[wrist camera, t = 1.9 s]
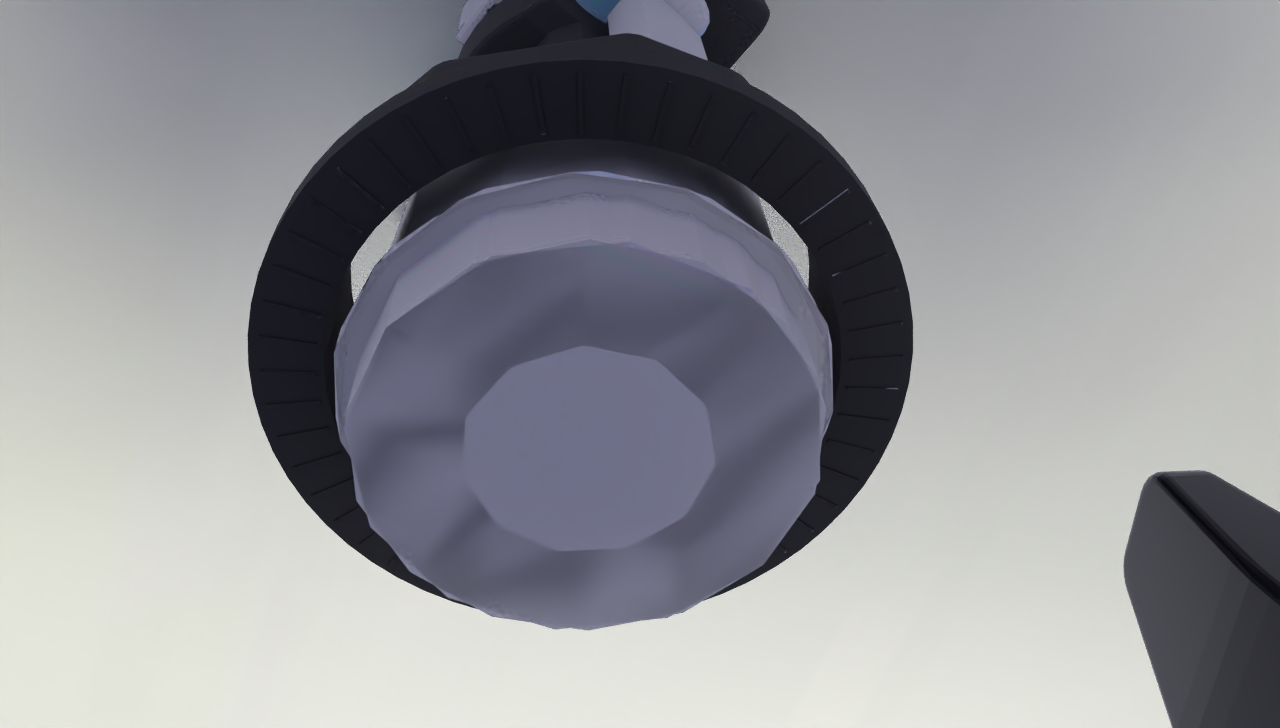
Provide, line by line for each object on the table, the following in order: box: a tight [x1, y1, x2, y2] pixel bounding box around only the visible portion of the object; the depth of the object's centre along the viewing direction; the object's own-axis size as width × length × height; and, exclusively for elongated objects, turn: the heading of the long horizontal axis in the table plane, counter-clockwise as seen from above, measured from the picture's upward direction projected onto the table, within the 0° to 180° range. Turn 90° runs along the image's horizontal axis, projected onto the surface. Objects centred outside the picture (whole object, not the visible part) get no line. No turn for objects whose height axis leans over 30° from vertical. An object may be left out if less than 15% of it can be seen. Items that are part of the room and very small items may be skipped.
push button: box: [248, 0, 913, 630], centre depth 14 cm, size 7×5×10 cm
